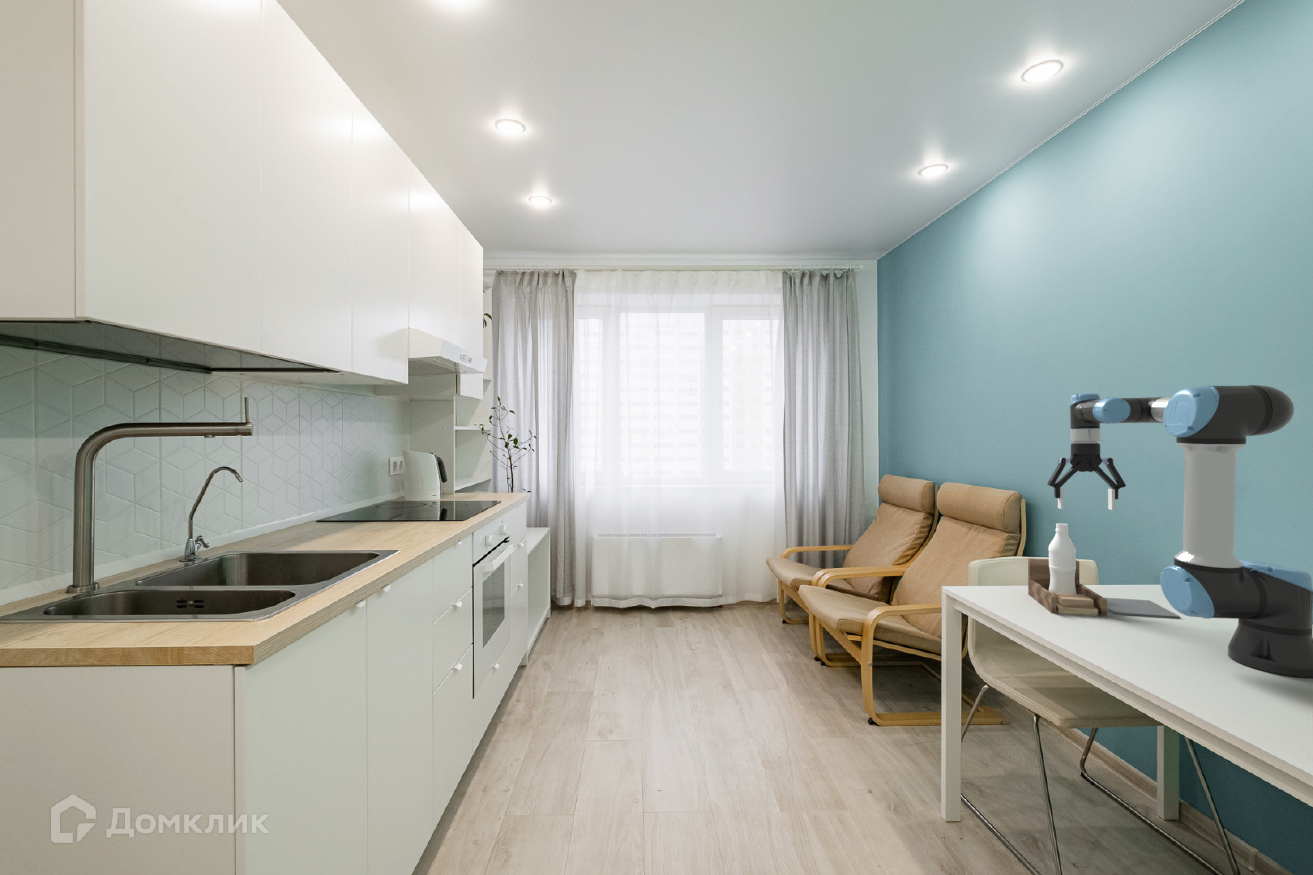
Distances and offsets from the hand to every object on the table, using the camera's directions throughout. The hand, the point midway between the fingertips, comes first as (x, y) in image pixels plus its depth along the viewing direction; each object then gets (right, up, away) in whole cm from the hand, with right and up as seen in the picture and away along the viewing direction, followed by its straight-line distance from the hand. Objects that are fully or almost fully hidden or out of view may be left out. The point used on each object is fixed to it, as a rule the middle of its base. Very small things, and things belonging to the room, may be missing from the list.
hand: (1085, 509), depth 180 cm
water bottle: (-9, -30, -2) cm, 31 cm away
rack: (-9, -29, -3) cm, 31 cm away
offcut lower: (-11, -30, -9) cm, 33 cm away
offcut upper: (-11, -28, -9) cm, 31 cm away
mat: (+8, -29, -8) cm, 31 cm away
